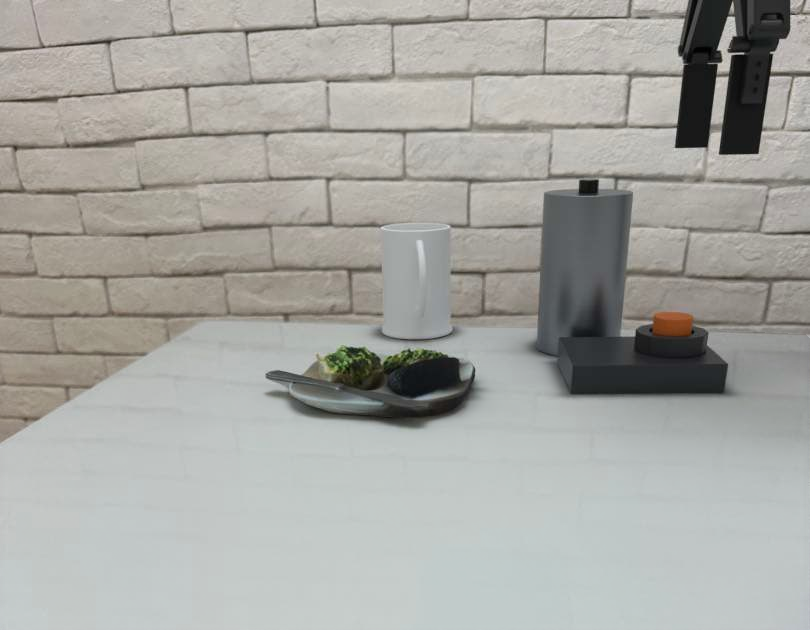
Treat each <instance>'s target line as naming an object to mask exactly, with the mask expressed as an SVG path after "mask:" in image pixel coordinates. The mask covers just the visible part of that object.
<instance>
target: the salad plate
mask: <svg viewBox="0 0 810 630" xmlns="http://www.w3.org/2000/svg"><path fill="white" fill-rule="evenodd" d="M315 356H316V359H317V360H316V361H314V362H313V363H311V364H310V365H309V367H308V368H306V370H305V371H304V372H302V374H298V373H293V372H289V371H285V370H280V369H276V370H270V371H267V372H266V373H265V379H267V381H271V382H273V383H276V384H279V385H281V386H283V387H285V388H287V389H288V393H289V395H291V396H292V397H294V399H297V400H299V401H300V402H301V403H304V404H306V405H309V406H312V407H314V408H317V409H319V410H323V411H325V412H329V413H333V414H342V415H357V416H371V417H383V418H403V419H404V418H406V419H407V418H409V419H410V418H412V419H413V418H426V417H427V418H428V417H433V416H438V415H441V414H444V413H449V412H451V411H453V410H455V409H457V408H459V407H460V406H461V405H462V403H463V402H464V401H465V399H466V398H467V396H468V395H469V393H470V390H471V388H472V385H473V382H474V381H475V378H476V368H475V366H474V364H473V363H472V362H471V361H470V360H468V359H466V358H463V357H459V356H455V355H451V354H444V353H443V352H441V351H438V352H437V351H436V350H435V349H434V350H433V349H430V350H429V349H424V348H419V347H417V348H416V349H414V350H413V351H412V350H411V349H410V347H408V348H407V349H404V350H401V352H399V353H395V354H387V353H385V354H384V353H375V352H373V351H370V350H369V349H368V348H366V346H362V347H354V346H346V345H341V346H340V347H339V348H337V349H336V350H335V352H333V353H326V354H324V356H323V357H322V356H320V354H319V353H316V355H315Z"/></svg>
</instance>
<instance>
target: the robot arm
mask: <svg viewBox="0 0 810 630" xmlns="http://www.w3.org/2000/svg"><path fill="white" fill-rule="evenodd" d="M732 6H733V13H734V24H735V25H734V26H735V34H736V35H733V36H732V37H731V40H730V41H729V44H728V48H727V49H726V52H727V54H731V57H730V64H729V70H728V79H727V87H726V88H727V89H726V94H725V102H724V110H723V118H722V124H721V133H720V141H719V147H718V148H719V149H718V155H720V156H731V155H732V156H733V155H734V156H736V155H737V156H740V155H741V156H742V155H759V152H760V147H761V141H762V140H761V139H762V133H763V127H764V126H763V125H764V120H765V115H766V113H765V112H766V107H767V101H768V100H767V99H768V92H769V87H770V86H769V85H770V80H771V73H772V66H773V59H774V52H776V51H777V49H778V46H779V44H780V40H786V39H787V38H788V36H790V35H789V34H790V32H791V27H792V26H791V0H687V5H686V10H685V16H684V20H683V26H682V30H681V34H680V40H679V45H678V47H677V54H678V57H679V58H681V59H682V64H683V67H682V77H681V87H680V95H679V105H678V115H677V122H676V133H675V140H674V141H675V143H674V149H706V148H707V149H708V147H709V141H710V132H711V123H712V115H713V108H714V100H715V94H716V93H715V92H716V84H717V77H718V76H717V75H718V69H719V68H718V67H719V64H722V63H723V61H724V60H723V54H722V50H720V49H719V46H720V42H721V39H722V37H723V33H724V29H725V27H726V23H727V21H728V17H729V14H730V11H731V7H732ZM718 49H719V50H718Z"/></svg>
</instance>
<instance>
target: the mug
mask: <svg viewBox="0 0 810 630" xmlns="http://www.w3.org/2000/svg"><path fill="white" fill-rule="evenodd" d="M451 229H452V227H451V225H450V224H448V223H447V224H446V223H441V222H439V223H438V222H400V223H392V224H391V223H390V224H386V225H383V226H381V227H380V251H381V252H380V254H381V256H380V258H381V283H382V285H381V287H382V325H381V333H382V334H383V335H385V336H387V337H388V338H395V339H399V340H428V339H429V340H430V339H437V338H442V337H445V336H447V335H450V334H451V333H452V332H453V326H452V315H451V312H452V311H451V280H452V279H451V278H452V277H451V273H452V272H451V269H452V268H451V267H452V265H451V264H452V263H451V262H452V261H451V259H452V258H451V255H452V254H451V253H452V252H451V250H452V249H451V246H452V245H451V244H452V243H451V241H452V237H451V235H452V233H451V232H452V230H451Z"/></svg>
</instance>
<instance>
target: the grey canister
mask: <svg viewBox="0 0 810 630" xmlns="http://www.w3.org/2000/svg"><path fill="white" fill-rule="evenodd" d="M599 187H600V179H598V178H581V179H579V180H578V188H568V189H554V190H547V191H544V192H543V203H542V222H541V223H542V225H541V243H540V244H541V245H540V265H539V284H538V285H539V286H538V305H537V306H538V307H537V327H536V329H537V330H536V349H537V350H538V351H540V352H541V353H544V354H546V355H547V354H548V355H550V356H556V357H558V340H559V337H621V335H622V334H621V333H622V323H623V322H622V321H623V311H624V301H625V291H626V290H625V289H626V288H625V287H626V278H627V267H628V255H629V246H630V245H629V244H630V234H631V223H632V213H633V212H632V211H633V200H634V191H632V190H629V189H628V190H627V189H618V188H617V189H616V188H599Z"/></svg>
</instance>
